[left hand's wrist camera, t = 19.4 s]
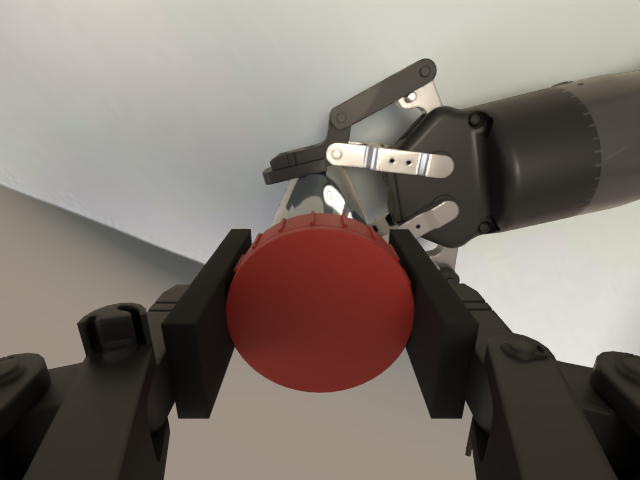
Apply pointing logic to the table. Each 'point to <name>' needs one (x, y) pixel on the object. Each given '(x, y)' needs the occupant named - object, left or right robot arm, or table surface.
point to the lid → (320, 303)
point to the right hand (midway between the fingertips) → (279, 218)
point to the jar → (321, 196)
